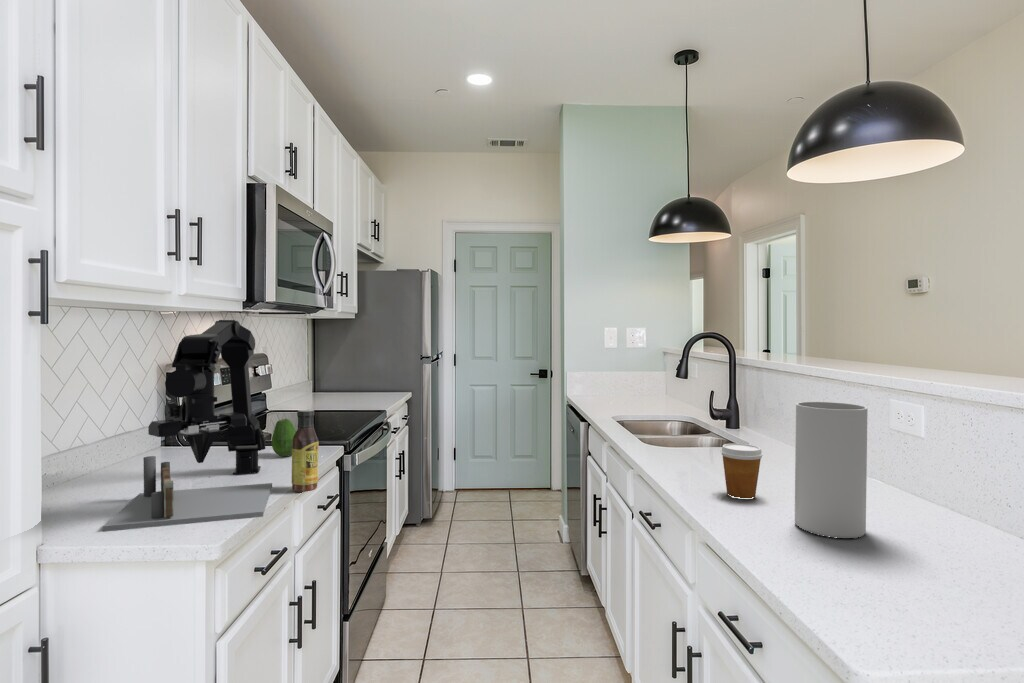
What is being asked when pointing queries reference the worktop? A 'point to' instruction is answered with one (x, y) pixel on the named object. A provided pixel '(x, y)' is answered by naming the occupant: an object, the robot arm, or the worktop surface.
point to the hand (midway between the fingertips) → (200, 462)
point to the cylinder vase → (831, 468)
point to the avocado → (283, 437)
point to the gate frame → (189, 504)
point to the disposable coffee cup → (741, 469)
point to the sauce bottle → (305, 453)
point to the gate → (167, 489)
